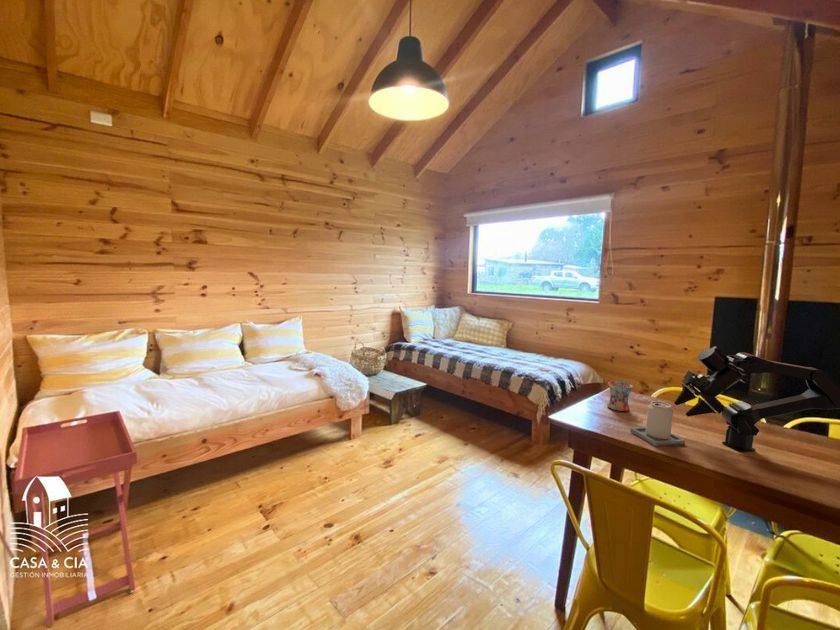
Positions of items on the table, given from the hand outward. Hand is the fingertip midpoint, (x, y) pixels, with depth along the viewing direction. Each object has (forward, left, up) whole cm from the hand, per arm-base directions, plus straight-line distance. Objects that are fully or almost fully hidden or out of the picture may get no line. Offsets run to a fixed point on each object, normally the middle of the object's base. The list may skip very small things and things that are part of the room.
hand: (680, 409), depth 134 cm
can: (+2, +6, -10) cm, 12 cm away
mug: (+30, 0, -11) cm, 32 cm away
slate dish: (+2, +7, -11) cm, 13 cm away
